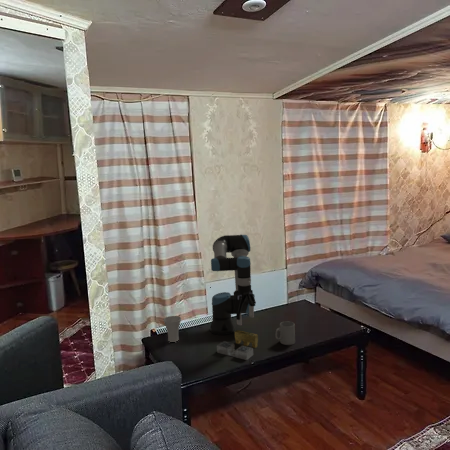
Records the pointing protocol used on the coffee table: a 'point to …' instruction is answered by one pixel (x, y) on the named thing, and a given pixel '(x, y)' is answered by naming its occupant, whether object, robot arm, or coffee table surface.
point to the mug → (286, 333)
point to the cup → (172, 327)
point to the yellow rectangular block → (246, 338)
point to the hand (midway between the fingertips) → (245, 320)
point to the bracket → (230, 350)
